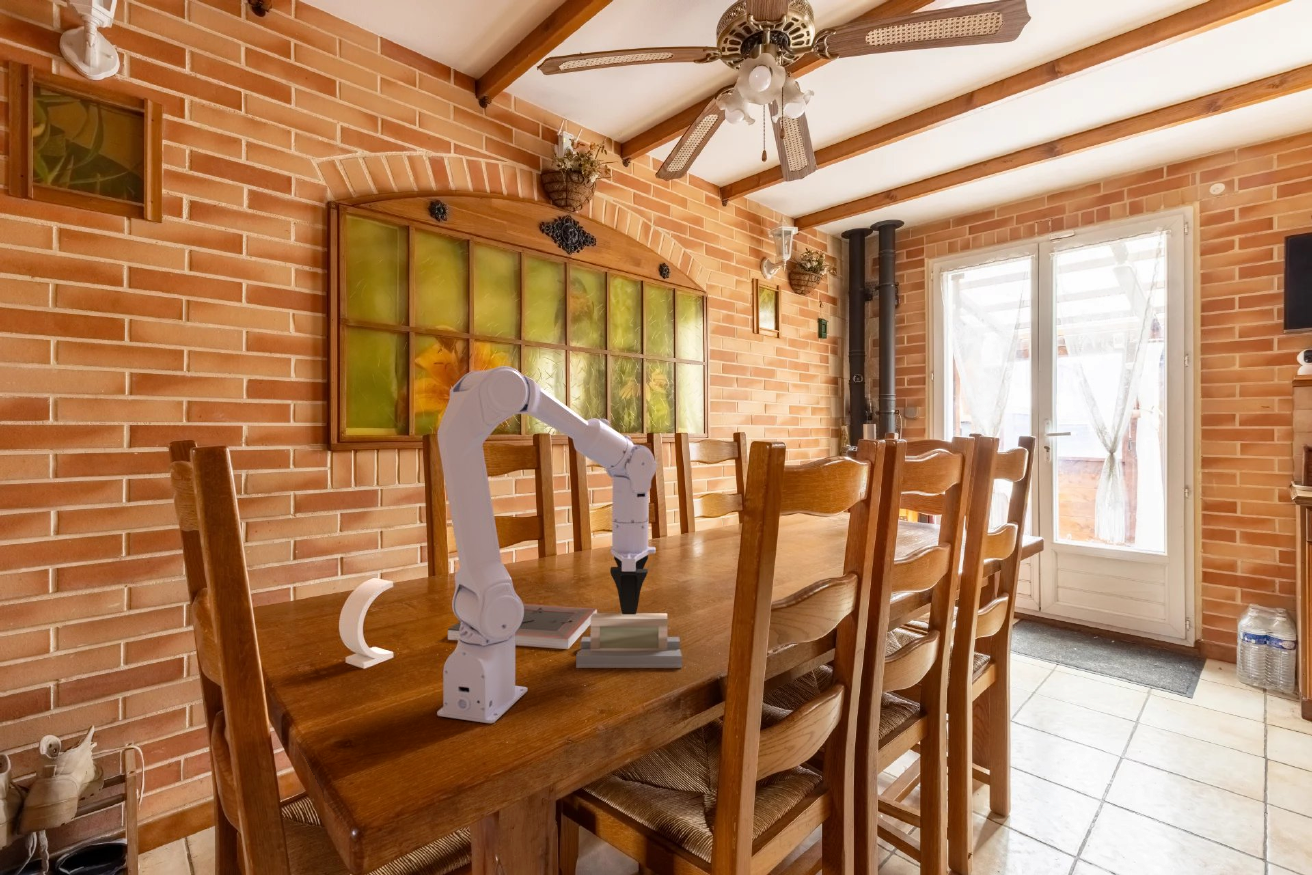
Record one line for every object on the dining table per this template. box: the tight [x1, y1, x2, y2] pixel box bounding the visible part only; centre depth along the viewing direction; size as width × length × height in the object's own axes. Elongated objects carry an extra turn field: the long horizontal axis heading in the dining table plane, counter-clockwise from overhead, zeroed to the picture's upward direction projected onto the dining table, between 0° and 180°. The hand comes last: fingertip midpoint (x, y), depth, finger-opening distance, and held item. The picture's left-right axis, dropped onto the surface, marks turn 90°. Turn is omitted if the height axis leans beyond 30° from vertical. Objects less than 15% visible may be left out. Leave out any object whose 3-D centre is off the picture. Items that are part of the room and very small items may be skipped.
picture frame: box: [447, 603, 598, 650], centre depth 106 cm, size 16×2×22 cm
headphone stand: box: [338, 577, 394, 670], centre depth 90 cm, size 5×6×12 cm
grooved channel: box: [575, 636, 683, 669], centre depth 92 cm, size 8×16×2 cm, turn 91°
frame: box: [590, 612, 669, 651], centre depth 92 cm, size 3×12×6 cm, turn 90°
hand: (630, 605), depth 92 cm, fingers open, 7 cm apart
